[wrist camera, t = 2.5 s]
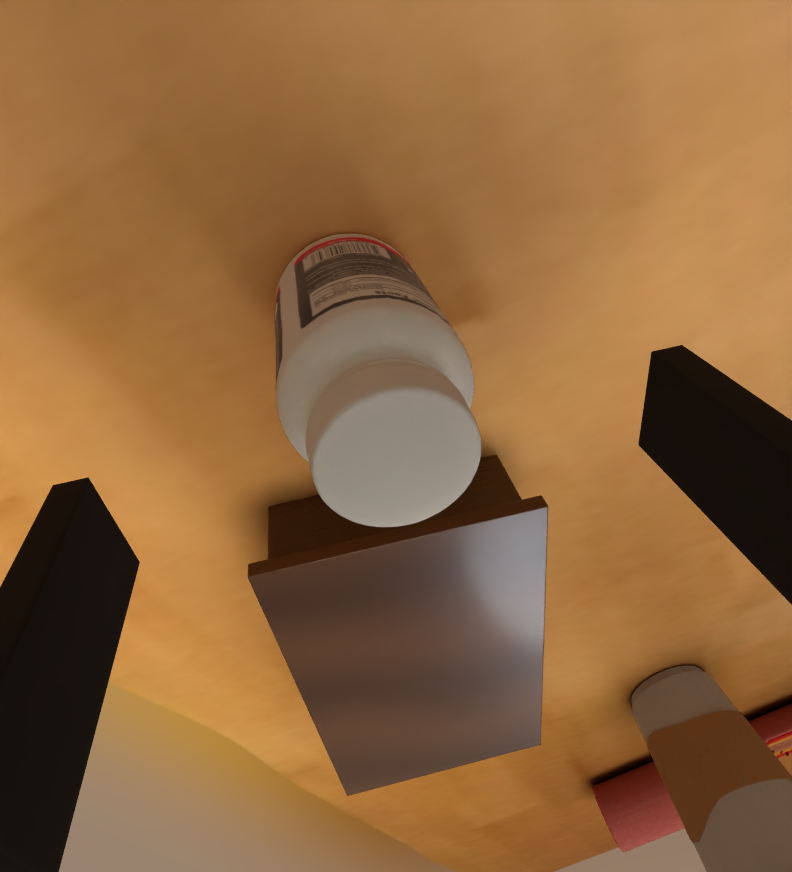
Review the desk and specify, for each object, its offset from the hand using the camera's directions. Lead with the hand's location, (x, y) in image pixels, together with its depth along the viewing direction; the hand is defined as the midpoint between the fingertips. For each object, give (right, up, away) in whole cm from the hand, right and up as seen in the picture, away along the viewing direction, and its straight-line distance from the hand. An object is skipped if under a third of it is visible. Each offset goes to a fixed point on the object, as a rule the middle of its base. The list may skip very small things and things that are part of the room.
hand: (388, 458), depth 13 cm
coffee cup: (+21, -19, +29) cm, 40 cm away
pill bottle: (-2, +5, +7) cm, 9 cm away
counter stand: (+1, -9, +18) cm, 20 cm away
